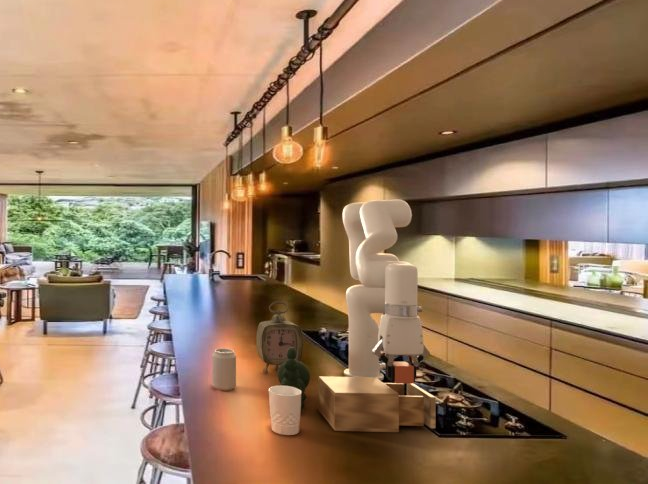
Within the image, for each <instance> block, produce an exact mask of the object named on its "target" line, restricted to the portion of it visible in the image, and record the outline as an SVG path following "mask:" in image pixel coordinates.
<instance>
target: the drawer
mask: <svg viewBox="0 0 648 484" xmlns="http://www.w3.org/2000/svg"><path fill="white" fill-rule="evenodd" d="M383 383H384V384H386V385H387V386H389V387H390V388H391V389H393V390H394V391H396V392H397V393H398V394H399V426H408V427H409V426H410V427H411V426H412V427H415V426H416V427H424V426H425V425H426V426H427V427H428V428H430V429H436V428H437V427H436V422H437V421H436V420H437V419H436V414H437V413H436V412H437V411H436V409H437V408H436V406H439V407H440V408H445V407H446V405H447V404H446V402H445V401H443V400H442V399H440V398H439V397H437V396H435V395H433V394H431V393H429V392H428V391H427V390H426V389H423V388H422V387H420V386H419V385H417V384H415V383H414V384H406V395H405V384H404V383H395V382H383Z"/></svg>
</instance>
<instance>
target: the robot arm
mask: <svg viewBox="0 0 648 484" xmlns="http://www.w3.org/2000/svg"><path fill="white" fill-rule="evenodd" d="M412 216H413V214H412V209H411V206H410V205H409V204H408V202H406V201H405V200H403V199H374V200H373V199H372V200H369V201H366V202H365V201H363V202H362V201H361V202H352V203H349V204H347V205H345V206H344V207H343V210H342V223H343V227H344V230H345V233H346V235H347V238H348V246H349V247H348V248H349V253H348V254H349V255H348V256H349V272H350V276H351V278H352V279H353V280H356V281H359V282H360V283H361V284H355V285H351V286H349V287H348V288H347V289H346V292H345V302H346V308H347V318H348V319H347V320H348V368H346V369H344V370H343V375H344V377H376V378H377V379H379V380H380V381H383V380H384V379H385V377H386V379H387V380H389V381H390V382H391V383H395V382H394V381H395V367H394V366H393V361H395V357H396V356H407V361H408V363H409V364H410V365H412V366H414V383H416V378H417V368H418V367H419V364H420V363H422V361H424V359H426V358H427V357H428V356H430V354H431V353H430V350H428V348H427V347H426V345H425V343H424V332H423V326H422V321H421V316H419V313H422V312H423V311H424V310H423V306H419V305H418V287H419V286H418V284H419V283H418V274H419V273H418V268H417V267H416V266H417V265H414V264H412V263H410V262H408V261H403V260H402V261H400V259H399V257H398V256H396V255H395V254H393V253H380V252H383V251H386V250H388V249H390V248H392V247H394V245H395V244H396V243H397V241H398V232H397V230H396V228H405V227H407V226H409V225H410V223H411V221H412ZM372 314H381V316H380V320H379V324H378V322H377V321H376V320H375V318H373V316H372ZM382 352H384V354H383V353H382ZM380 360H381V361H382V363H380ZM381 370H385V371H384V372H385V373H384V374H385V376H384V374H383V373H382V372H381Z"/></svg>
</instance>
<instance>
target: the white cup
mask: <svg viewBox="0 0 648 484" xmlns="http://www.w3.org/2000/svg"><path fill="white" fill-rule="evenodd" d="M301 393H302V392H301V390H299V389H297V388H295V387H291V386H282V385H281V384H280V385H273V386H270V387H269V388H268V398H269V399H268V400H269V401H268V402H269V417H270V428H271V431H273V432H274V433H275V434H278V435H282V436H294V435H297V434H298V433H299V432H300V422H301V411H302V409H301Z"/></svg>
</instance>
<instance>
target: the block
mask: <svg viewBox="0 0 648 484" xmlns="http://www.w3.org/2000/svg"><path fill="white" fill-rule="evenodd" d="M393 366H394V367H395V381H394V382H393V383H403V384H404V385H405V384H406V385H407V384H415V382H414V366H412V365H410V364H409V362H407V361H395V360H394V361H393Z"/></svg>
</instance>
